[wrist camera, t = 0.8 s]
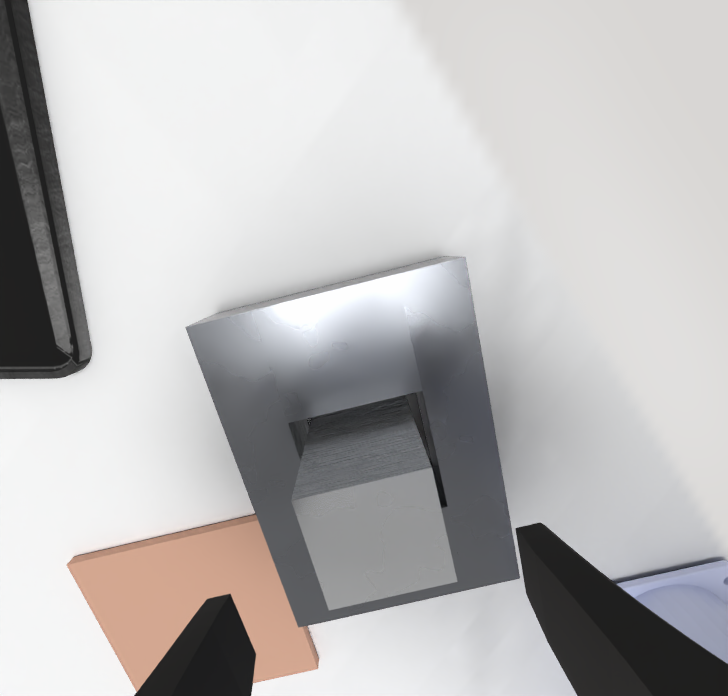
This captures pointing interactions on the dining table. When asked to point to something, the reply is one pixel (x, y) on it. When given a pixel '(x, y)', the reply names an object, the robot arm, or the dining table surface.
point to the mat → (192, 596)
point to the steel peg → (371, 505)
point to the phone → (33, 223)
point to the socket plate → (355, 388)
